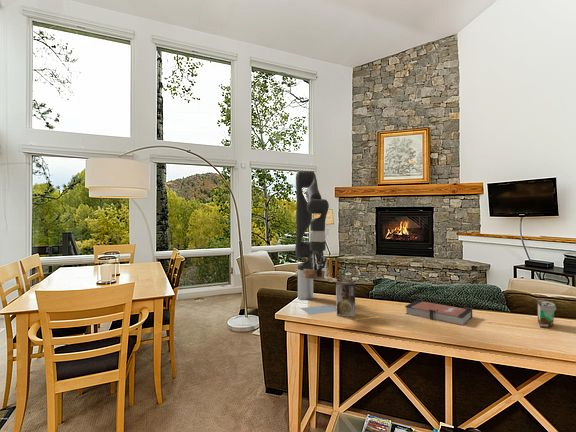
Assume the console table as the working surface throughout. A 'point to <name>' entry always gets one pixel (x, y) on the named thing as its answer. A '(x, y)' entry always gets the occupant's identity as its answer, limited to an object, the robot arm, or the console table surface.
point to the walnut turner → (313, 275)
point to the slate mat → (319, 309)
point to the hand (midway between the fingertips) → (317, 276)
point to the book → (439, 312)
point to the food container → (546, 314)
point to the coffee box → (345, 298)
